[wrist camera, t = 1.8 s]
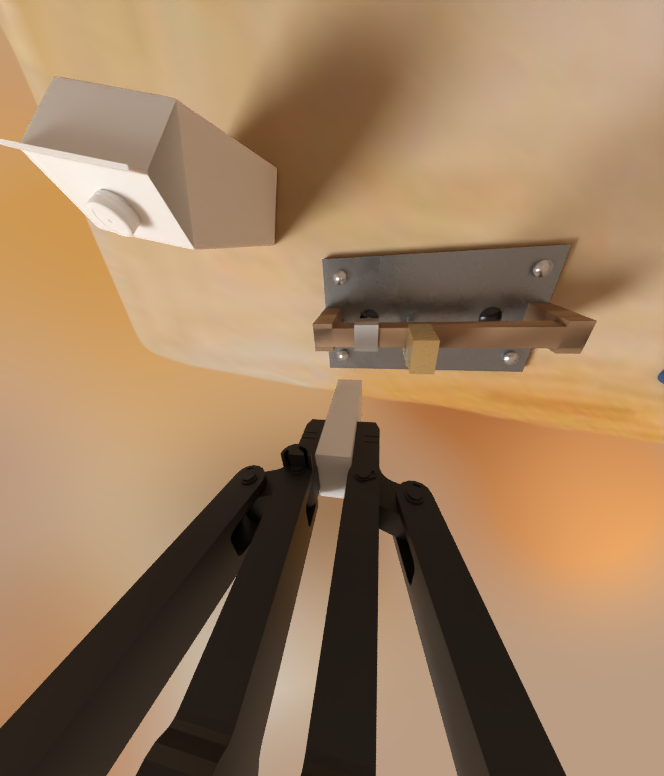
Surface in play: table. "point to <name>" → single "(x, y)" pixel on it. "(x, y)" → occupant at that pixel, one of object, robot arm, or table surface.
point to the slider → (421, 348)
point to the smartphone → (661, 377)
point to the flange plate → (442, 298)
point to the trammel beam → (462, 331)
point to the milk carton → (151, 167)
